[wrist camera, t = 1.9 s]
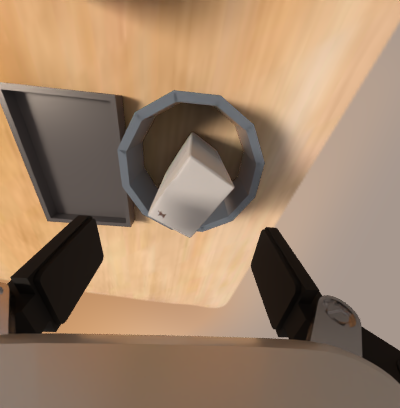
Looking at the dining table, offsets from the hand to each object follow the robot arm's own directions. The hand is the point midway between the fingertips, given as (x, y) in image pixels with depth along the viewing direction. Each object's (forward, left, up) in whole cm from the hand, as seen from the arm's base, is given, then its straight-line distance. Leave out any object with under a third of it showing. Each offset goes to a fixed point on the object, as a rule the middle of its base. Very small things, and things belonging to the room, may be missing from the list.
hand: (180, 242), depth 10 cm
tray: (+14, +1, -16) cm, 21 cm away
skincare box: (0, -1, -16) cm, 16 cm away
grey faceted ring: (0, -1, -16) cm, 16 cm away
